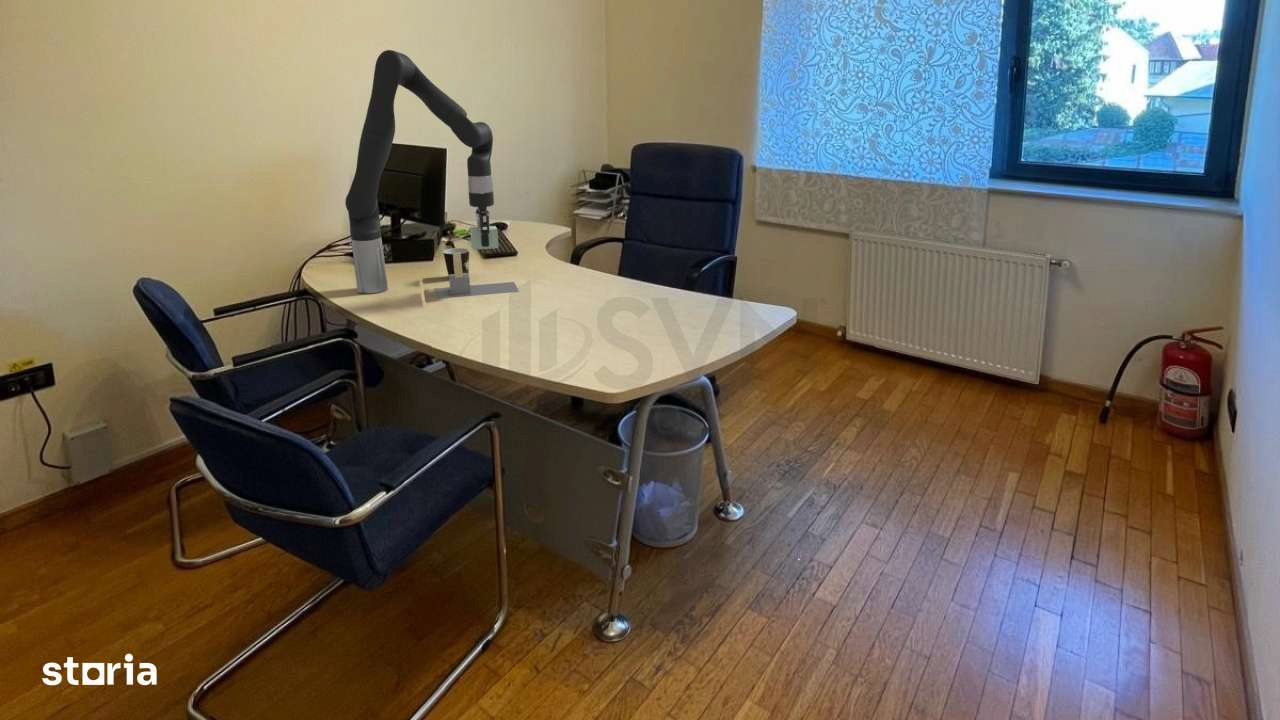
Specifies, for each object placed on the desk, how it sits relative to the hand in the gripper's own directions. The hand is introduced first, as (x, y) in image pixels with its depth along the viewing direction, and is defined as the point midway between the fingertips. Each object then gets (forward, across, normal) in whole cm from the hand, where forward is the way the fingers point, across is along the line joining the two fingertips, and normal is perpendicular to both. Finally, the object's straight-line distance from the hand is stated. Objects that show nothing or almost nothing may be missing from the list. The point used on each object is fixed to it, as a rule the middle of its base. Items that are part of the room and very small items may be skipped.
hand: (484, 244), depth 253 cm
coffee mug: (+16, -19, -7) cm, 26 cm away
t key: (+10, 0, -9) cm, 13 cm away
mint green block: (+1, 0, 0) cm, 1 cm away
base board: (+16, 0, -4) cm, 16 cm away
